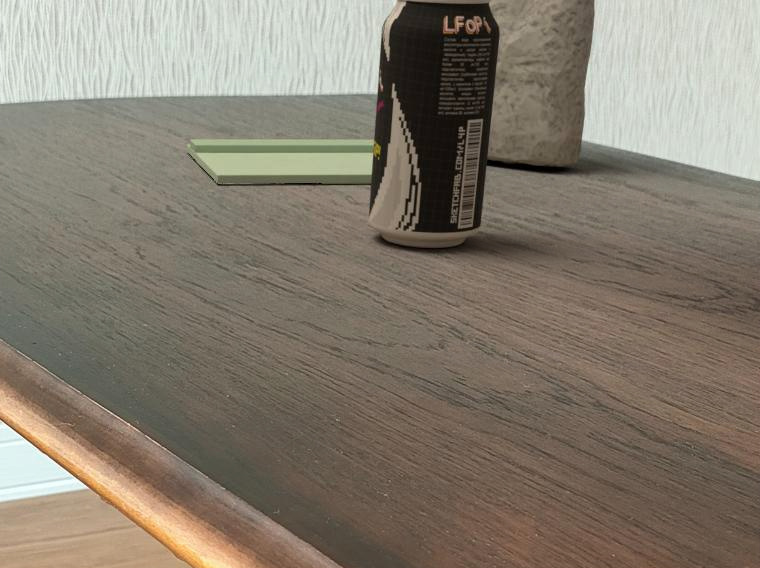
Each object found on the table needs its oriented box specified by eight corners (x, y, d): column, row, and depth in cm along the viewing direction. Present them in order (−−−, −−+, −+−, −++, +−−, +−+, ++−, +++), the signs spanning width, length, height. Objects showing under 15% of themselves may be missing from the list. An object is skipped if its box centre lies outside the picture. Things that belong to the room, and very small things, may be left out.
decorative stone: (593, 167, 98) (624, -74, 92) (545, 176, 94) (575, -75, 88) (460, 146, 105) (480, -79, 99) (410, 154, 101) (428, -80, 94)
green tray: (411, 152, 101) (413, 136, 101) (468, 183, 91) (470, 165, 90) (186, 152, 99) (186, 136, 98) (217, 184, 88) (217, 166, 87)
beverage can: (382, 224, 78) (399, -13, 73) (487, 234, 76) (512, -8, 72) (355, 245, 73) (371, -8, 68) (467, 256, 72) (492, -2, 67)
